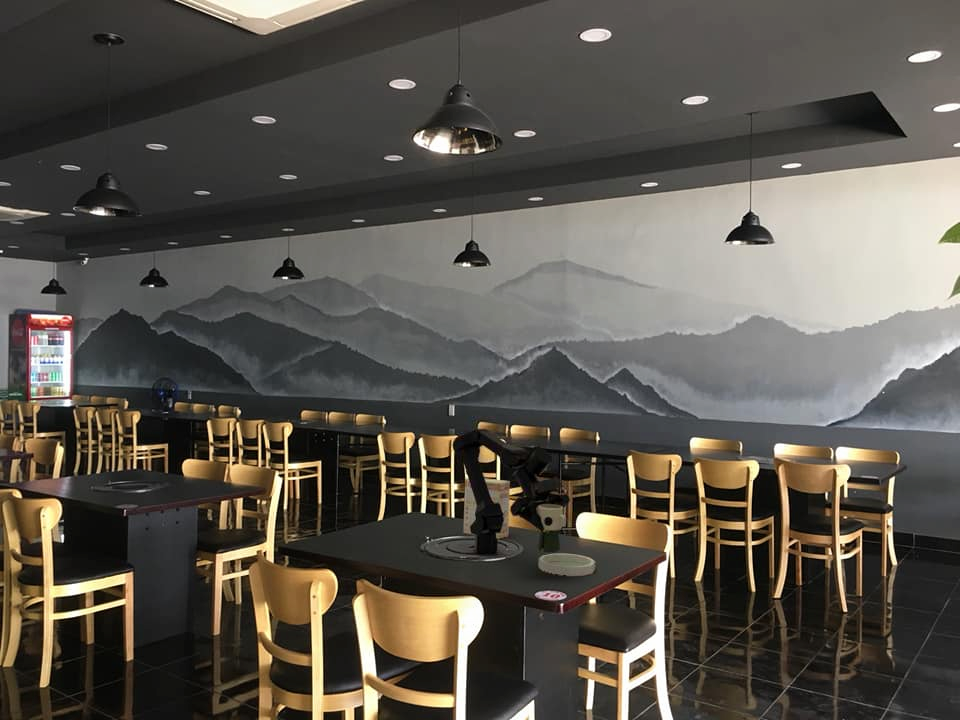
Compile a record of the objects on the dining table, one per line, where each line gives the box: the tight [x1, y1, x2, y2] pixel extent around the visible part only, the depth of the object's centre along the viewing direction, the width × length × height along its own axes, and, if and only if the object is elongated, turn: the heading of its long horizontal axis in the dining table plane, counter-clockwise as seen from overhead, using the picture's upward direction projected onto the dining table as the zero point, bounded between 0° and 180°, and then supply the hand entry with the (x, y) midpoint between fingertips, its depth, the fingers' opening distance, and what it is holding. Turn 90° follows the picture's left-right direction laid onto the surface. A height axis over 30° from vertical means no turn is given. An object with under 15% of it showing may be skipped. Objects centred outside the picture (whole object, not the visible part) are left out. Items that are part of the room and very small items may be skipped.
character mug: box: [536, 504, 567, 554], centre depth 216 cm, size 11×7×13 cm, turn 46°
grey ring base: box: [538, 553, 596, 577], centre depth 223 cm, size 16×16×2 cm
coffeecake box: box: [462, 477, 511, 540], centre depth 266 cm, size 15×7×20 cm, turn 54°
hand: (552, 529), depth 215 cm, fingers closed on character mug, 7 cm apart
